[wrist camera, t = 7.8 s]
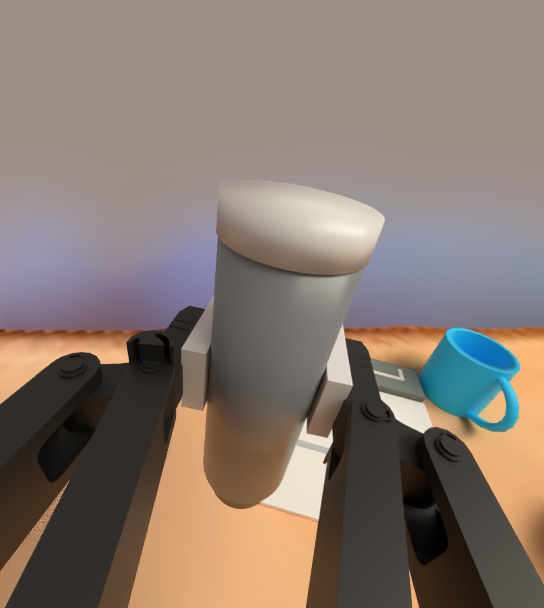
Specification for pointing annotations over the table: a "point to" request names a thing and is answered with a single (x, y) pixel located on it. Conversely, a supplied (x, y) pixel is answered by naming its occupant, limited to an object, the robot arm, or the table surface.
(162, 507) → the table surface
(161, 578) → the table surface
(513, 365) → the mug
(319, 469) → the paper
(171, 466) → the table surface
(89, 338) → the table surface
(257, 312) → the marker
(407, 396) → the dark grey flat block
